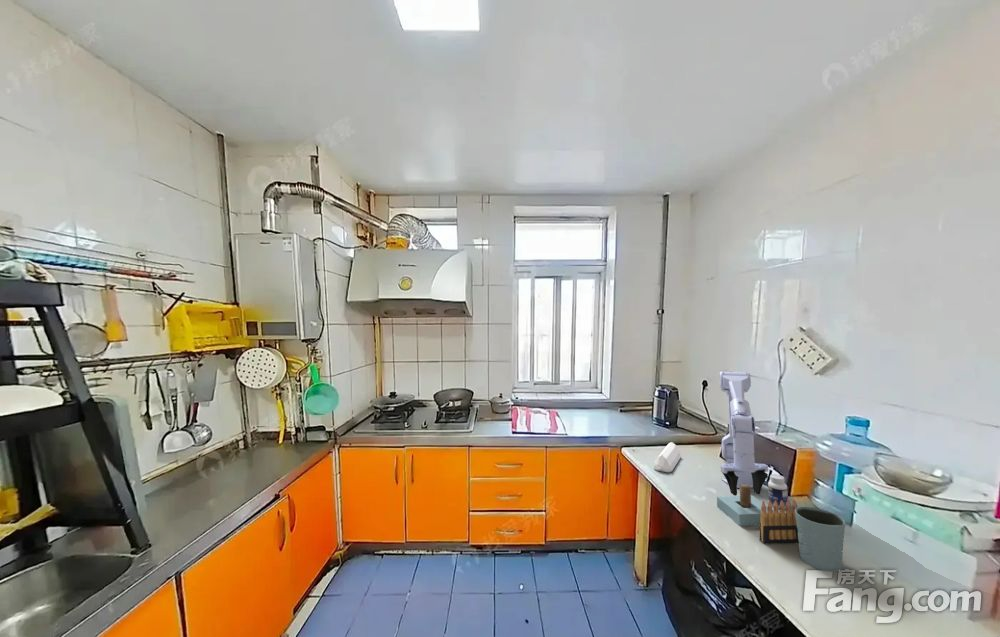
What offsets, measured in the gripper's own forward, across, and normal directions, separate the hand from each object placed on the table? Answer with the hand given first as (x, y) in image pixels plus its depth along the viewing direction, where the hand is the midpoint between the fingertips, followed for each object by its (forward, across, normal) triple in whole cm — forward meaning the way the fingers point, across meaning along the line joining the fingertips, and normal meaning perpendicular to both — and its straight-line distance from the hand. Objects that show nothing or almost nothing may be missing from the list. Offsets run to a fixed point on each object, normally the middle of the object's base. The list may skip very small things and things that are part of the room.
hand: (745, 493), depth 124 cm
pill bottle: (+7, +15, +6) cm, 17 cm away
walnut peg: (+7, 0, 0) cm, 7 cm away
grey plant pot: (+7, +4, -24) cm, 25 cm away
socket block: (+7, 0, 0) cm, 7 cm away
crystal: (+8, -5, +46) cm, 47 cm away
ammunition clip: (+7, 0, -15) cm, 17 cm away
